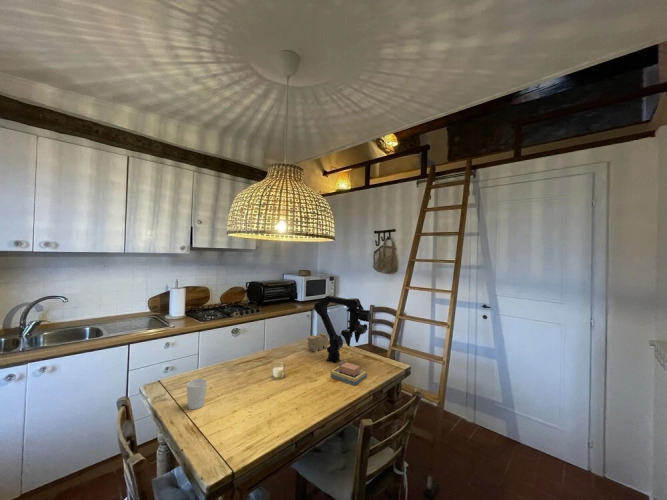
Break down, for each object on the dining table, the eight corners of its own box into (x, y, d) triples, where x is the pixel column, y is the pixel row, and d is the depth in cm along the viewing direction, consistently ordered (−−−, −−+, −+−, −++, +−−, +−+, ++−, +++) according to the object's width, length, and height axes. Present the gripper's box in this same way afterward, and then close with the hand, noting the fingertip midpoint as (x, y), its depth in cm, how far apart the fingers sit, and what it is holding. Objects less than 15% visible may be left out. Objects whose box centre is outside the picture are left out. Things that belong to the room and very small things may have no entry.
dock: (330, 377, 155) (330, 370, 155) (343, 369, 166) (343, 363, 166) (355, 385, 146) (355, 379, 146) (367, 377, 157) (367, 370, 157)
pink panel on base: (338, 372, 156) (338, 363, 156) (344, 369, 161) (344, 360, 161) (354, 378, 150) (354, 368, 150) (359, 374, 155) (359, 364, 155)
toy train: (329, 347, 202) (329, 333, 202) (312, 353, 190) (312, 338, 190) (324, 345, 206) (324, 332, 206) (306, 351, 194) (307, 336, 194)
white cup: (192, 400, 127) (193, 378, 127) (209, 400, 127) (210, 379, 127) (182, 409, 120) (183, 386, 120) (200, 410, 119) (201, 387, 119)
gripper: (356, 324, 160) (355, 351, 160) (372, 319, 175) (371, 343, 175) (341, 321, 167) (339, 347, 167) (357, 315, 181) (356, 339, 181)
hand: (352, 344), depth 172 cm, fingers open, 9 cm apart
